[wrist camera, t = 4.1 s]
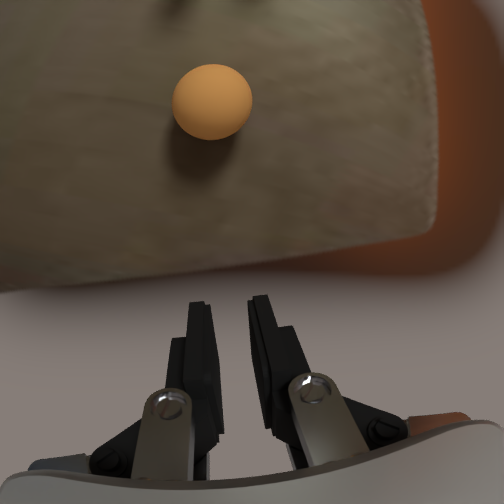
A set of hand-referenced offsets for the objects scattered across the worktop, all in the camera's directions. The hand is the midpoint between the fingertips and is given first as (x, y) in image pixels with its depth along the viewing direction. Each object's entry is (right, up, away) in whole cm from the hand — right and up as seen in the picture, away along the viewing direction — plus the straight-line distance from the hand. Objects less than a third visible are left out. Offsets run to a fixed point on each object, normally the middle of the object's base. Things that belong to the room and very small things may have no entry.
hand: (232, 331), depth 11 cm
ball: (-2, +14, +9) cm, 17 cm away
